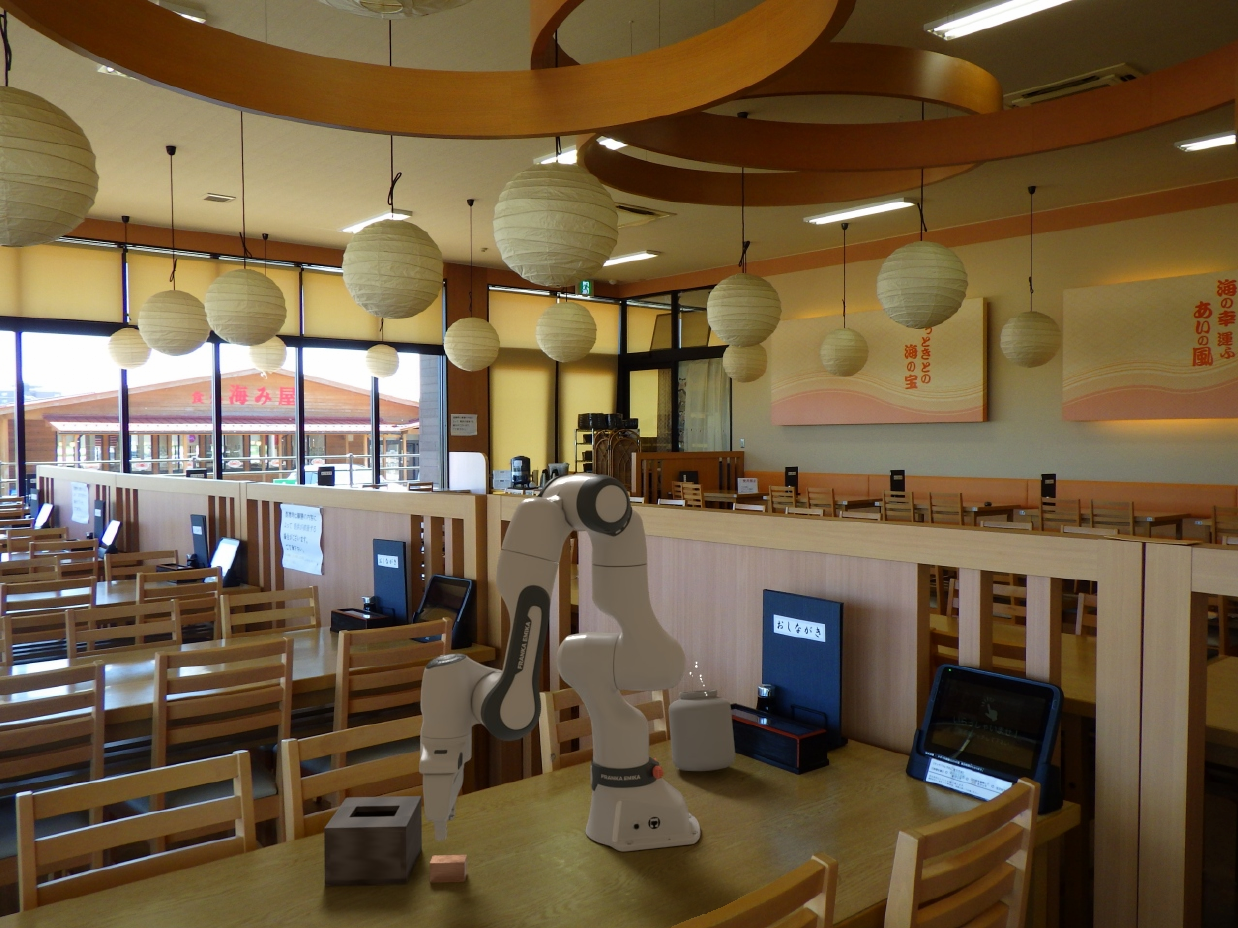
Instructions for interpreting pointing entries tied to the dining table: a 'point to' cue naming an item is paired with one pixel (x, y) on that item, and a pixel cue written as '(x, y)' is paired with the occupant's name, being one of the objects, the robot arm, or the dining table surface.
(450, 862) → the pink rectangular block
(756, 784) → the dining table surface
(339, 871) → the tip box
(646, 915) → the dining table surface
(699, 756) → the jar
